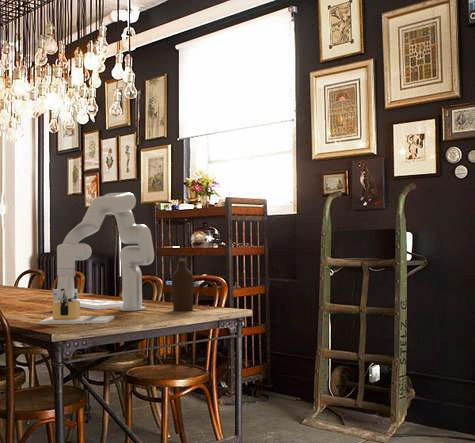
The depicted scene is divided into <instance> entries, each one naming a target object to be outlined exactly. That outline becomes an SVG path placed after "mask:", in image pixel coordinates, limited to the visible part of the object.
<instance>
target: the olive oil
mask: <svg viewBox="0 0 475 443" xmlns="http://www.w3.org/2000/svg"><path fill="white" fill-rule="evenodd" d="M194 282H195V279H194V275H193V273H192V271H191V270H190V269H189V268H188V267H187V262H186V258H179V259H178V267H177V268H176V269H175V271H174V272H173V273H172V275H171V289H172V291H171V292H172V305H173V306H172V307H173V311H175V312H187V311H188V312H189V311H193V310H194V306H193V305H194Z"/></svg>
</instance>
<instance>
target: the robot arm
mask: <svg viewBox="0 0 475 443" xmlns="http://www.w3.org/2000/svg"><path fill="white" fill-rule="evenodd" d="M136 203H137V199H136V196H135V195H134V194H133V193H131V192H129V191H128V192H127V191H126V192H110V193H106V194H104V195H103V196H96V197H94V198H93V199H92V200H91V202H90V204H89V206H88V208H87V210H86V212H85V214H84V216H83V218H82V221H81V222H79V223H78V224H77V225H76V226H75V227H73V228H72V230H70V231H69V232H68V233H67V234H66V236H65V238H64V240H63V242H62V243H61V244H58V245H57V247H56V264H57V265H56V267H57V268H56V269H57V270H56V272H57V273H56V274H57V277H58V278H57V285H56V286H57V288H56V289H57V299H60V315H68V306H67V303H68V301H73V297H74V289H75V277H76V261H85V260H88V259H89V258H90V257H91V256H92V248H91V246H90V245H89V244H87V243H84V242H81V241H82V240H84V239H85V238H87V237H89V236H92V235H94V234H95V233H96V232H98V231H99V230H100V228H101V226H102V224H103V222H104V220H105V218H106V215H114V217H115V220H116V221H115V222H116V224H117V230H118V231H117V232H118V235H119V239H120V242H121V243H122V244H125V245H126V244H127V246H124V247H123V248H121V250H120V251H119V259H120V264H121V272H122V273H121V274H122V275H121V278H122V281H121V284H122V302H123V307H119V310H120V311H123V312H124V311H127V312H133V311H143V310H144V311H145V310H146V306H144V305H143V280H142V278H143V275H142V271H141V268H140V266H149V265H151V264H152V263H153V261H154V260H155V250H154V244H153V237H152V233H151V230H150V228H149V227H148V226H147V225H145V224H141V223H140V224H139V223H138V224H136V221H135V217H134V214H133V211H132V210H133V209H134V208H135V206H136ZM79 242H81V243H79ZM65 300H66V302H65Z"/></svg>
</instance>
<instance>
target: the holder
mask: <svg viewBox="0 0 475 443" xmlns="http://www.w3.org/2000/svg"><path fill="white" fill-rule="evenodd" d="M78 301H80V308H84V309H90V310H91V309H92V310H98V311H99V310H107V309H118V307H119V308H120V307H123V301H114V300H102V299H101V300H99V299H86V298H83V299H82V298H81V299H80V298H78Z"/></svg>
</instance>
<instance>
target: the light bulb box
mask: <svg viewBox="0 0 475 443" xmlns="http://www.w3.org/2000/svg"><path fill="white" fill-rule="evenodd" d="M78 294H79V293H78V288H74V297H73V301H78V299H79V297H78V296H79V295H78ZM56 301H60V299H57V288H56V289H55V288H54V289H52V303H53V302H56ZM65 301H66V300H65Z"/></svg>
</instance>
